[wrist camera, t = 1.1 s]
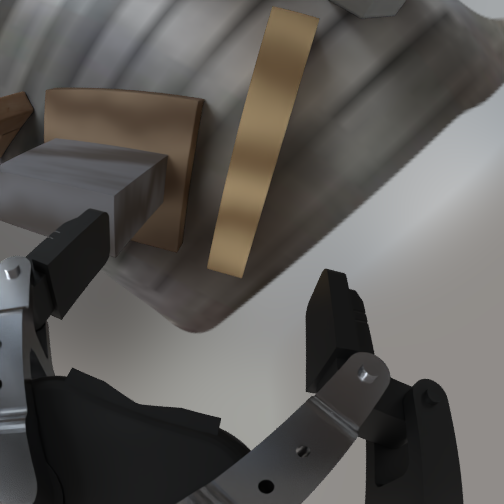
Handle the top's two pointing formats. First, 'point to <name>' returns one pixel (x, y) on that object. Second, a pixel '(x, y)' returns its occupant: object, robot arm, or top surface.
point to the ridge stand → (107, 165)
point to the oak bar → (260, 136)
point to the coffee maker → (370, 7)
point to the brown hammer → (12, 117)
